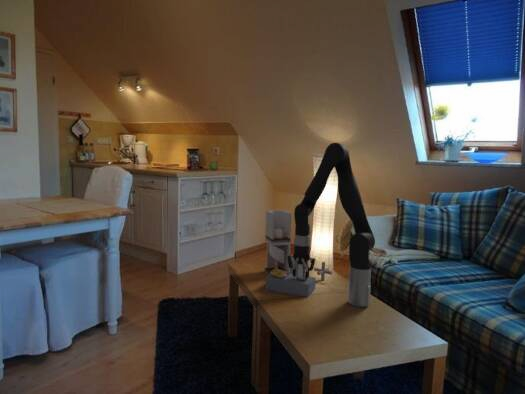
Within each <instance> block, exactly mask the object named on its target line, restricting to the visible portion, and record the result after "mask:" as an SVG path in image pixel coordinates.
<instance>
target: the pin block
mask: <svg viewBox="0 0 525 394" xmlns="http://www.w3.org/2000/svg"><path fill="white" fill-rule="evenodd" d="M316 279H317V278H316V277H314V276H309V277H308V278H307V279H305V282H303V281H297V275H296V277H293V275H292V274H290V272H289V275H288V276H286V277H285V278H284V279H281V278H279V277H276V276H274V275H271V274H270V275H267V276H266V277H265V287H264V289H265V291H266V290H267V291H272V292H277V293H284V294H289V295H295V296H301V297H306V298H309V297H310V295H312V293H314V291H315V290H316Z"/></svg>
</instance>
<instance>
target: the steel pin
mask: <svg viewBox="0 0 525 394" xmlns="http://www.w3.org/2000/svg"><path fill="white" fill-rule="evenodd" d="M305 272H306V270H305V267H304V265H303V264H297V281H303V282H305Z"/></svg>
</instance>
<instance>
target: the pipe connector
mask: <svg viewBox="0 0 525 394" xmlns="http://www.w3.org/2000/svg"><path fill="white" fill-rule="evenodd" d="M313 271H315V272H317V273H316V275H317V276H320V281H322V282H325V277H326V276H325V274H326V275H330V276H332V275H333V271H330V269H329V267H326V261H321V268H319V267H314V268H313Z"/></svg>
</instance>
